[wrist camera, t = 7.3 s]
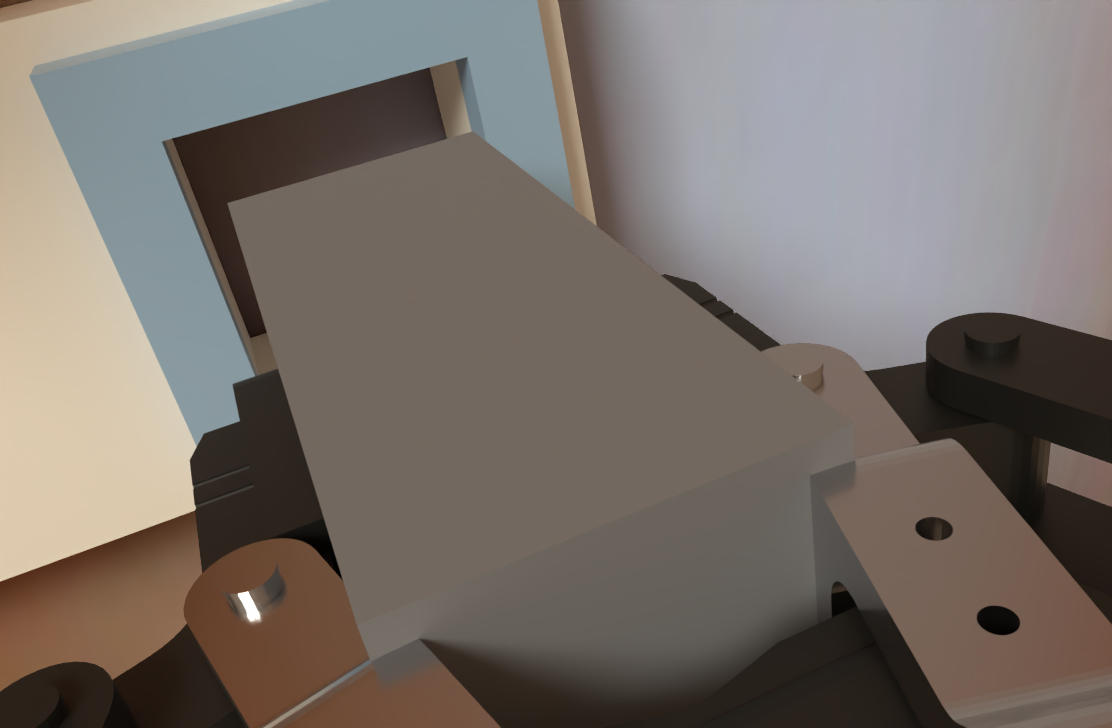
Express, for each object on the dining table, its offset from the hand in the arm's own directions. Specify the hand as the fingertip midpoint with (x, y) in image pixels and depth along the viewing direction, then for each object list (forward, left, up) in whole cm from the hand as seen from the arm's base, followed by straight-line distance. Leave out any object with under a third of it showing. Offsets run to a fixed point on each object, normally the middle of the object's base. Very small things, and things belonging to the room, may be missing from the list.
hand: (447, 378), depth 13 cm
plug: (0, 0, -4) cm, 4 cm away
